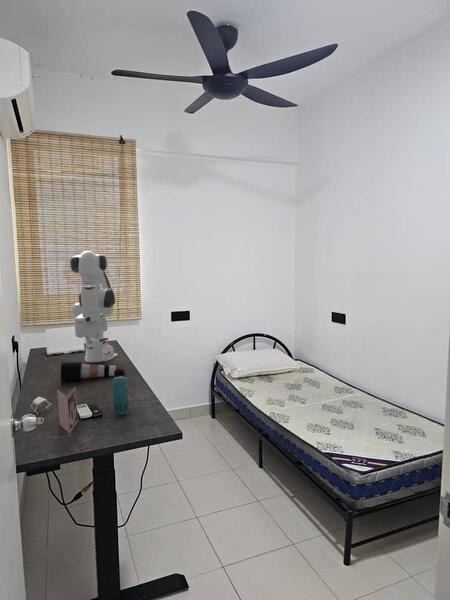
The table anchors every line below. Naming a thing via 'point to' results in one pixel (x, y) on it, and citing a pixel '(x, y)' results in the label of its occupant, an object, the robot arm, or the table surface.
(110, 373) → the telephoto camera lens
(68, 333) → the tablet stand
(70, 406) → the greeting card
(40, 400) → the origami figure
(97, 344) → the usb plug
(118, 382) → the beverage bottle
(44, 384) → the table surface
